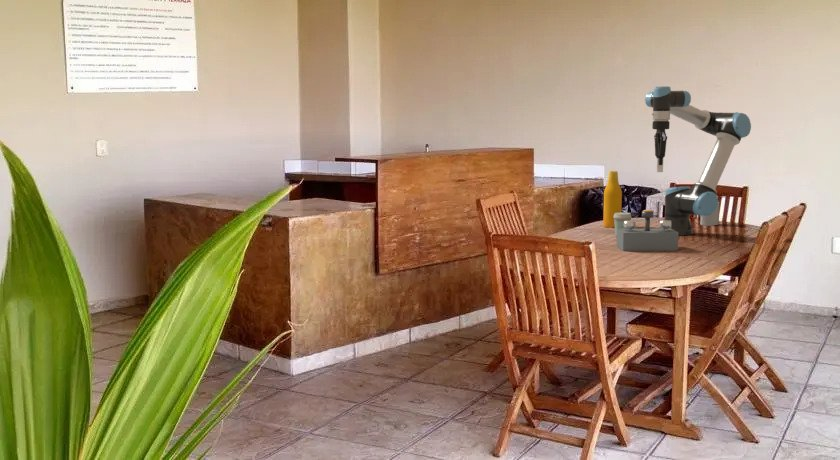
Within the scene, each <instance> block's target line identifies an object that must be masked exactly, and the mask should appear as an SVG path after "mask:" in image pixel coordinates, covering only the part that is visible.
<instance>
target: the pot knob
mask: <svg viewBox="0 0 840 460" xmlns="http://www.w3.org/2000/svg"><path fill="white" fill-rule="evenodd" d="M654 212H655V211H653V210H652V209H644V210H642V211H641V218H644V219H645V221H644V225H645V226H644V229H645V231H650V229H651V227H650V226H651V219H652V218H653V219H654Z"/></svg>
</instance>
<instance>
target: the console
mask: <svg viewBox="0 0 840 460" xmlns="http://www.w3.org/2000/svg"><path fill="white" fill-rule="evenodd" d="M616 247H617V248H618V249H620V250H622V251H623V252H644V251H645V252H646V251H648V252H652V251H653V252H654V251H678V250H679V235H678V232H677V231H675V230H673V229H671V228H668V231H663V228H660V227H659V228H650V231H645V228H635V229H632V231H627V229H617V238H616Z"/></svg>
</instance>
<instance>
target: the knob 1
mask: <svg viewBox="0 0 840 460" xmlns="http://www.w3.org/2000/svg"><path fill="white" fill-rule="evenodd" d="M624 228H625V229H627V231H632V229H636V221H635V220H631V221H624Z"/></svg>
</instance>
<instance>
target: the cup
mask: <svg viewBox="0 0 840 460" xmlns="http://www.w3.org/2000/svg"><path fill="white" fill-rule="evenodd" d="M719 220H720V201H718V205H717V208H716V209H715V211H714V212H713V213H712V214H710V215H707V216H700V222H699V224H700V225H701V226H706V227H714V226H713V225H718V224H719V222H720V221H719ZM719 225H720V224H719ZM719 225H718V226H719Z"/></svg>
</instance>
